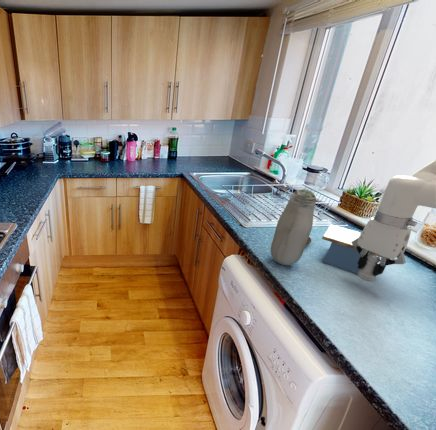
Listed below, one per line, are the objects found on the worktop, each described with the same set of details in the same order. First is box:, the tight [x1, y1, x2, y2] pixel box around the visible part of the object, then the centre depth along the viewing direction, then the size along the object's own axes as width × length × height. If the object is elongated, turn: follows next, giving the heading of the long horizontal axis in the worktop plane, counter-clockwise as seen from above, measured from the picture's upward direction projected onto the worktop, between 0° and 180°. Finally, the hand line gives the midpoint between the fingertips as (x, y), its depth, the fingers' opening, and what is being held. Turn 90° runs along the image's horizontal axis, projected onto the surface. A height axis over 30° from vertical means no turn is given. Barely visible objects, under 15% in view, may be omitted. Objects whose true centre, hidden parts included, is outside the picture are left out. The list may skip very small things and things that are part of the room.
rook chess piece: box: [356, 254, 381, 282], centre depth 90 cm, size 4×4×8 cm
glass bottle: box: [270, 188, 317, 266], centre depth 100 cm, size 10×10×28 cm
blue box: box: [323, 242, 374, 274], centre depth 104 cm, size 12×12×9 cm
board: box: [321, 223, 382, 258], centre depth 102 cm, size 18×14×1 cm
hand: (368, 270), depth 91 cm, fingers closed on rook chess piece, 3 cm apart
